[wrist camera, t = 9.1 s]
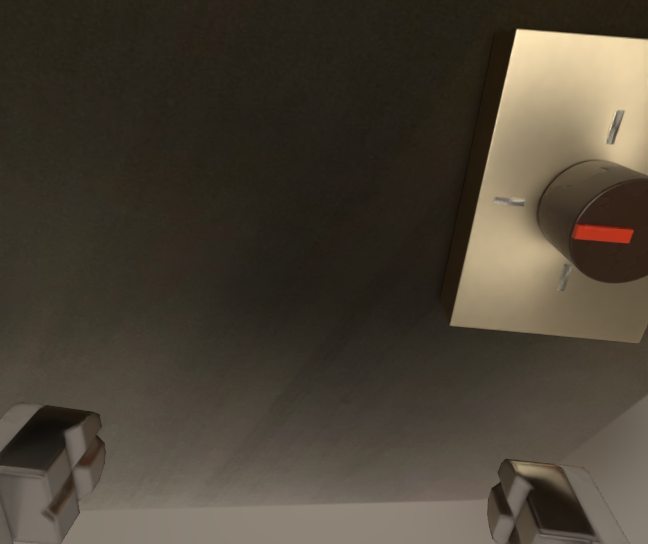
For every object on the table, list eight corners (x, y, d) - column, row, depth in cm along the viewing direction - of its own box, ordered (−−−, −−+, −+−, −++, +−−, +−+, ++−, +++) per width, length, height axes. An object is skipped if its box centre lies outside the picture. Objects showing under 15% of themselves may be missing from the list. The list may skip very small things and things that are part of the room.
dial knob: (653, 163, 20) (715, 185, 17) (619, 255, 22) (668, 292, 18) (552, 156, 20) (593, 176, 17) (526, 248, 22) (559, 283, 19)
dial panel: (610, 314, 27) (641, 345, 24) (439, 299, 27) (450, 327, 24) (715, 49, 21) (774, 47, 18) (495, 31, 21) (517, 27, 18)
